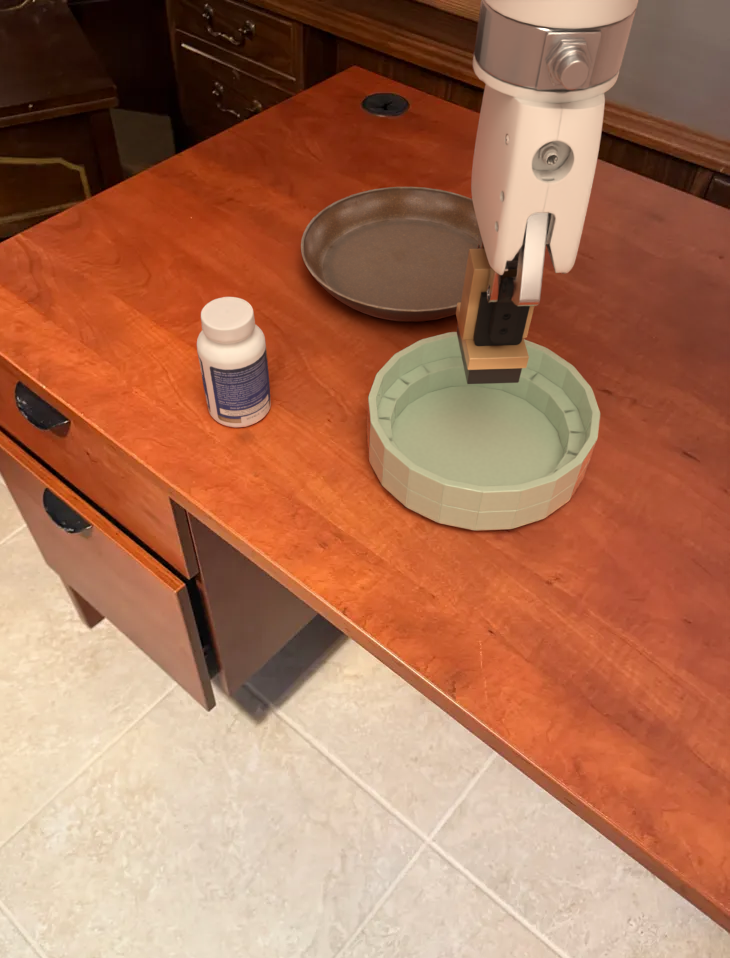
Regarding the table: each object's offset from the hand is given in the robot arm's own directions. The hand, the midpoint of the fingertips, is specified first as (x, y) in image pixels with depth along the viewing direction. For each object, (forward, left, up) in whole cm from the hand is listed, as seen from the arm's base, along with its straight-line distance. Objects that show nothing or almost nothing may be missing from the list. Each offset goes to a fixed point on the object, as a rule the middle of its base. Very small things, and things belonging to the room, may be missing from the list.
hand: (493, 326), depth 57 cm
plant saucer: (+3, -24, -12) cm, 27 cm away
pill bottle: (+19, -6, -12) cm, 23 cm away
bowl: (0, 0, -12) cm, 12 cm away
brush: (0, 0, -3) cm, 3 cm away
